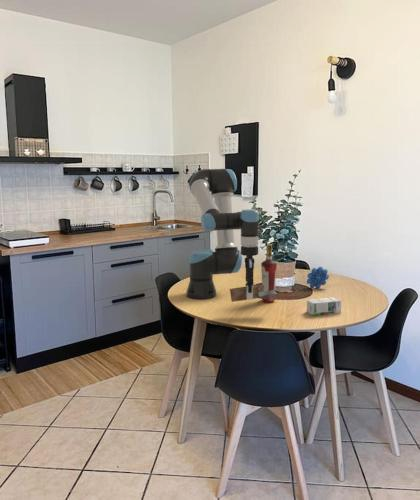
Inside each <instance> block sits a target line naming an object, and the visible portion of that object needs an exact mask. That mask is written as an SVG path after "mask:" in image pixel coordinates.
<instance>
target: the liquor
mask: <svg viewBox="0 0 420 500" xmlns="http://www.w3.org/2000/svg"><path fill="white" fill-rule="evenodd" d="M265 249H266V256H265V260H264V261H262V262H261V265H260V266H261V290H262V291H261V292H264V291H271V290H275V291H276V278H277V267H278V266H277V262H276V261H275V260H273V256H272V255H273V254H272V252H273V251H272V250H273V244H272V243H271V244H270V243H268V244H266V248H265ZM261 300H262V301H263V302H264V303H273V302H274V301H275V300H276V297H269V298H262V299H261Z"/></svg>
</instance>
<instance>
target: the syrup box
mask: <svg viewBox="0 0 420 500" xmlns="http://www.w3.org/2000/svg"><path fill="white" fill-rule="evenodd" d="M306 312H307V313H308V314H310V315H311V316H321V315H328V314H337V313H338V314H339V313H341V312H342V300H341V299H340V298H337V297H334V296H333V297H325V298H315V299H314V298H313V299H306Z"/></svg>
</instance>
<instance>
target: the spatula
mask: <svg viewBox="0 0 420 500" xmlns="http://www.w3.org/2000/svg"><path fill="white" fill-rule="evenodd" d="M229 292H230V300H231V303H233V302H242V301H248V300H247V286H246V285H245V286H240V287H239V286H238V287H233V288H229ZM269 297H275V298H276V297H278V293H277V290H276V289H275V290H271V291H264V292H262V291H259V288H258V285H257V284H253V300H254V299H259V300H262V298H269Z"/></svg>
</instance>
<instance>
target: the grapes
mask: <svg viewBox="0 0 420 500" xmlns="http://www.w3.org/2000/svg"><path fill="white" fill-rule="evenodd" d="M328 272H329V271H328V269H326V268H325V269H324V267H322V266H319V267H317V268H315V267H313V268H312V269H311V272H309V273H308V274H307V276H306V277H307V279H306V284H308V285H309V287H310V288H311V289H313V288H315V289H320V288H321V286H325V285H326V284H327V280H329V278H330V277H329V274H328Z"/></svg>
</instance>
